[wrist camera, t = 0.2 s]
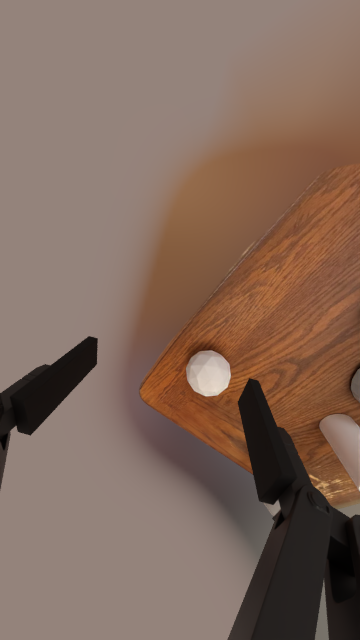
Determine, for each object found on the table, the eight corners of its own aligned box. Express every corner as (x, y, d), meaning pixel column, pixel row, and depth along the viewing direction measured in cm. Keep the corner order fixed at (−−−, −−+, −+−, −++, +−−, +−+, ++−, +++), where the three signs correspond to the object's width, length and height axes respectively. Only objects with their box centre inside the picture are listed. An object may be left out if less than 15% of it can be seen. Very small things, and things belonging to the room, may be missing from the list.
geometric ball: (214, 346, 36) (244, 357, 29) (208, 383, 37) (236, 403, 30) (182, 344, 33) (207, 356, 26) (176, 385, 33) (199, 408, 26)
